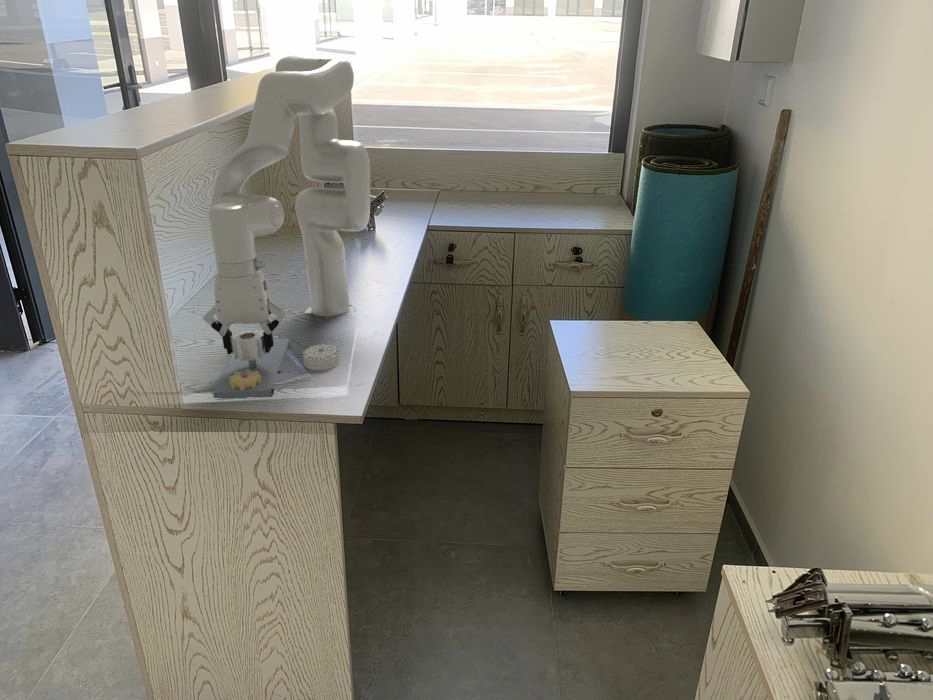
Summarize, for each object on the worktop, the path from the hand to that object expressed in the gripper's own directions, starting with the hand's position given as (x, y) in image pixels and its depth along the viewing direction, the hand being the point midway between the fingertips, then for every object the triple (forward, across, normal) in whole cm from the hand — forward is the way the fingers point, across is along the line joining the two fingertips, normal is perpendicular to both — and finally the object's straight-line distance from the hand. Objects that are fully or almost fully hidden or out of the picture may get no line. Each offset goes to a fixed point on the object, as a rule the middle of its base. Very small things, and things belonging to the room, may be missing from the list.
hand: (249, 350), depth 143 cm
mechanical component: (+6, -14, -1) cm, 15 cm away
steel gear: (+1, 0, 0) cm, 1 cm away
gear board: (+5, 0, -2) cm, 6 cm away
